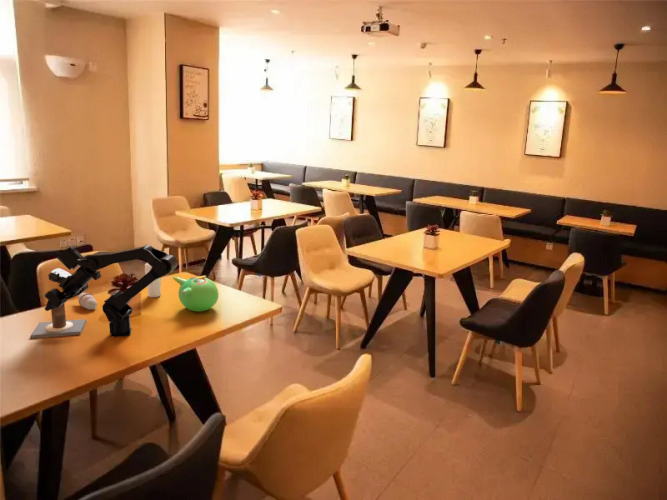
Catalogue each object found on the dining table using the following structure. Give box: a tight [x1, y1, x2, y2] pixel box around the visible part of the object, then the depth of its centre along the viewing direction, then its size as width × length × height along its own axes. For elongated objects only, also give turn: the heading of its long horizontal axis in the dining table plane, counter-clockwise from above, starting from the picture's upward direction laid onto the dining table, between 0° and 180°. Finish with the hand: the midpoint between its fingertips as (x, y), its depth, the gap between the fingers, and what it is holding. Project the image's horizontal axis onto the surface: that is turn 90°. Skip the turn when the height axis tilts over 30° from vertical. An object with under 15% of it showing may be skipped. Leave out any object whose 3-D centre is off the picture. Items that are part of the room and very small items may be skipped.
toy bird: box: [172, 275, 219, 312], centre depth 206 cm, size 18×17×15 cm
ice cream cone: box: [77, 292, 98, 311], centre depth 206 cm, size 6×6×15 cm
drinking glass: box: [144, 262, 162, 298], centre depth 220 cm, size 7×7×15 cm
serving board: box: [30, 318, 87, 339], centre depth 183 cm, size 16×12×2 cm
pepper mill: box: [50, 303, 67, 328], centre depth 181 cm, size 4×4×10 cm
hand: (53, 305), depth 181 cm, fingers open, 9 cm apart
